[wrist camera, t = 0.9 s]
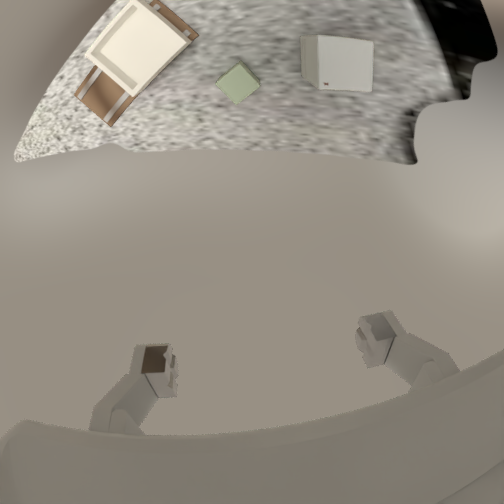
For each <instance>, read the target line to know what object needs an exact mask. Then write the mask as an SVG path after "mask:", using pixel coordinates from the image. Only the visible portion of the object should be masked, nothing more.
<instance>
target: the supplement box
mask: <svg viewBox="0 0 504 504" xmlns="http://www.w3.org/2000/svg"><path fill="white" fill-rule="evenodd" d="M373 44H374V42H373V41H369V40H363V39H356V38H349V37H341V36H330V35H305V36H300V51H301V76H302V77H303V78H305V79H306V80H307V81H308V82H310V83H311V84H312V85H313V86H314V87H316V88H317V89H318V90H345V91H363V92H372V83H373Z"/></svg>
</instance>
